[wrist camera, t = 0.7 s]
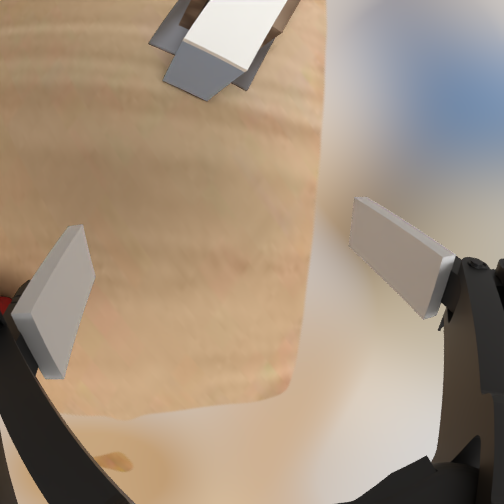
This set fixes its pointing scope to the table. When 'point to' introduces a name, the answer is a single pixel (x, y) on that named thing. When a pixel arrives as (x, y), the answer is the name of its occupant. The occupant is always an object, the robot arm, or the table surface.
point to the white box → (221, 45)
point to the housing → (187, 13)
